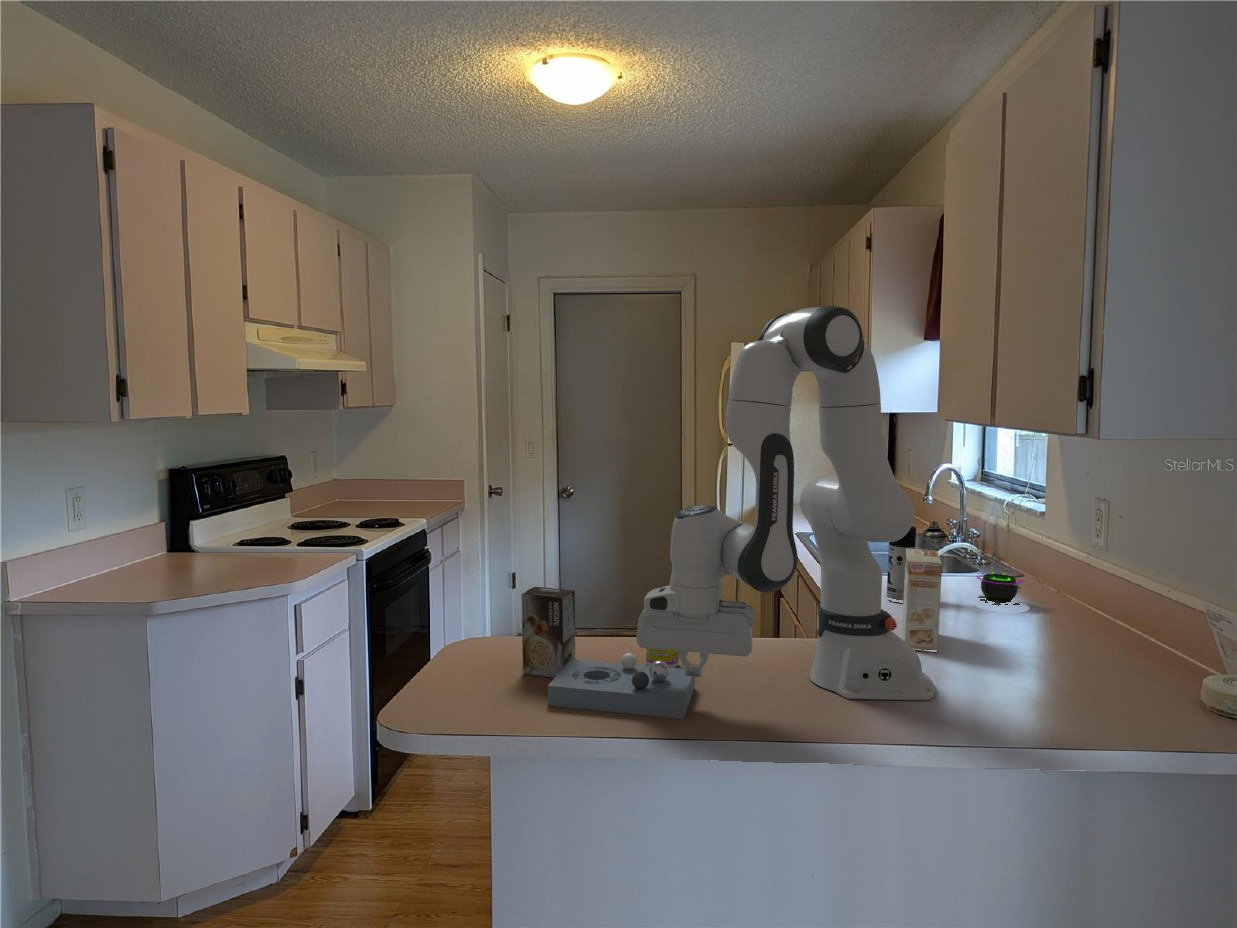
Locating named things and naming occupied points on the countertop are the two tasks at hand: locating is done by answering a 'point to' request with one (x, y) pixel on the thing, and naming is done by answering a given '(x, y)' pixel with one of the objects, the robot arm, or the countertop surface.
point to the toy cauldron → (999, 587)
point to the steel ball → (659, 671)
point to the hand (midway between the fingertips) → (693, 675)
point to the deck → (620, 690)
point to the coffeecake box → (922, 599)
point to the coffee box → (547, 630)
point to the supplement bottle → (662, 657)
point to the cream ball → (628, 661)
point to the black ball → (640, 680)
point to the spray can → (899, 564)
